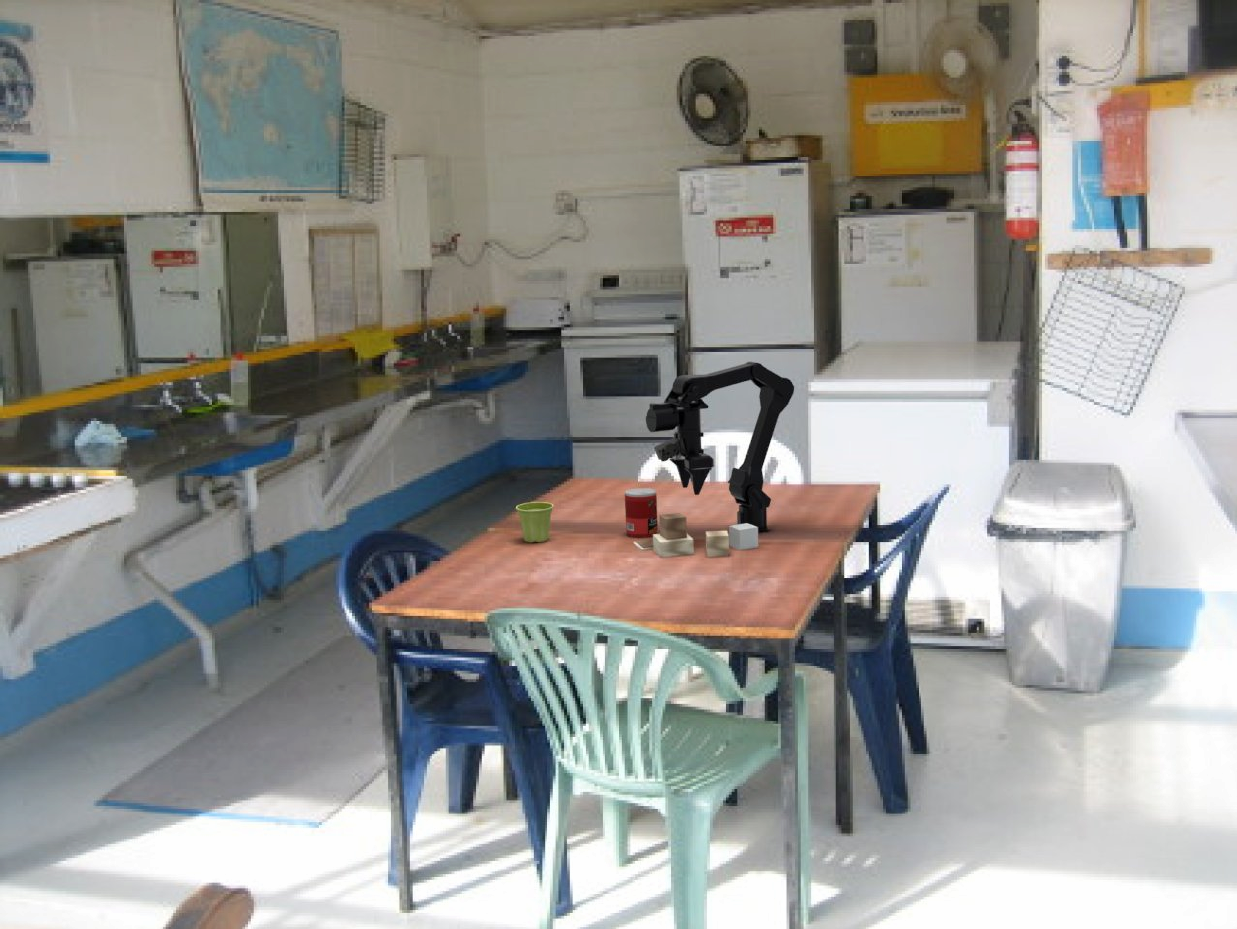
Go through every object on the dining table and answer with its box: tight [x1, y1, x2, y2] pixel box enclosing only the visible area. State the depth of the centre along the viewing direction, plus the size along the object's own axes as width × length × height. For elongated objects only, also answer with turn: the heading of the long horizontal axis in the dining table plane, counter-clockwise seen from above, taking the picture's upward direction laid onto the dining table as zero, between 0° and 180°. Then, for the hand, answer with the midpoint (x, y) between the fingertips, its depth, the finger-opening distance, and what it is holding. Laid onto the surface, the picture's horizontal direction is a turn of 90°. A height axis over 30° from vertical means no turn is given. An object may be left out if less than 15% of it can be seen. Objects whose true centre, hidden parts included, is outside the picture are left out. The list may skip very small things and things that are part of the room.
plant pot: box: [515, 501, 555, 543], centre depth 331 cm, size 9×9×9 cm
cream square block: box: [652, 533, 695, 558], centre depth 314 cm, size 8×8×4 cm
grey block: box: [728, 523, 759, 551], centre depth 316 cm, size 5×5×5 cm
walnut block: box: [659, 512, 688, 540], centre depth 314 cm, size 5×5×5 cm
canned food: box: [624, 487, 659, 538], centre depth 332 cm, size 8×8×11 cm
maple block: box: [705, 530, 730, 558], centre depth 311 cm, size 5×5×5 cm
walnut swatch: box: [633, 539, 653, 551], centre depth 321 cm, size 7×7×1 cm
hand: (690, 491), depth 324 cm, fingers open, 9 cm apart
